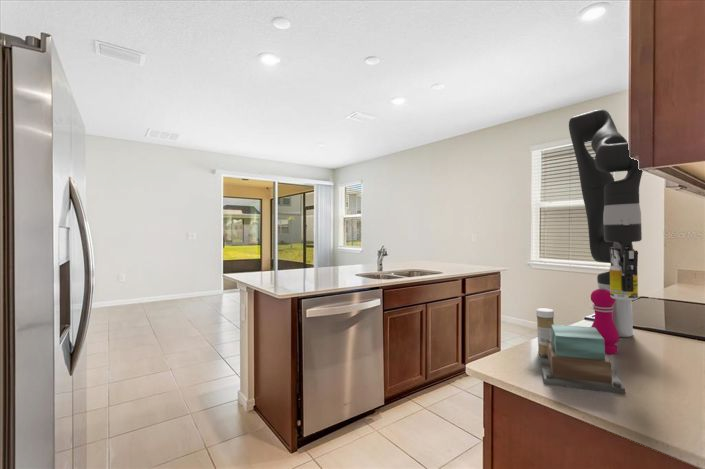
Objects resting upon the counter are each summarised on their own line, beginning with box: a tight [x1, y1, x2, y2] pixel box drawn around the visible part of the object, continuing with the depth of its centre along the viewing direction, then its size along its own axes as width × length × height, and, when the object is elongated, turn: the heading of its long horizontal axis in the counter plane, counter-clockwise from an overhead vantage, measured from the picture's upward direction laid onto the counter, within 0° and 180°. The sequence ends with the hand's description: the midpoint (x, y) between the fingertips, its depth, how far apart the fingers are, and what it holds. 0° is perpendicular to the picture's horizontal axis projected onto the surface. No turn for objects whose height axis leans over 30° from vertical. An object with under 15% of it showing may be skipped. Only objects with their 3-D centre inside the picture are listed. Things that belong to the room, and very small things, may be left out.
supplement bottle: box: [609, 258, 639, 302], centre depth 87 cm, size 6×6×10 cm
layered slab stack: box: [539, 324, 626, 395], centre depth 88 cm, size 16×16×11 cm
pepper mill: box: [590, 284, 620, 355], centre depth 103 cm, size 7×7×20 cm
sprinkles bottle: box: [535, 307, 555, 356], centre depth 102 cm, size 5×5×14 cm
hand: (623, 288), depth 87 cm, fingers closed on supplement bottle, 5 cm apart
